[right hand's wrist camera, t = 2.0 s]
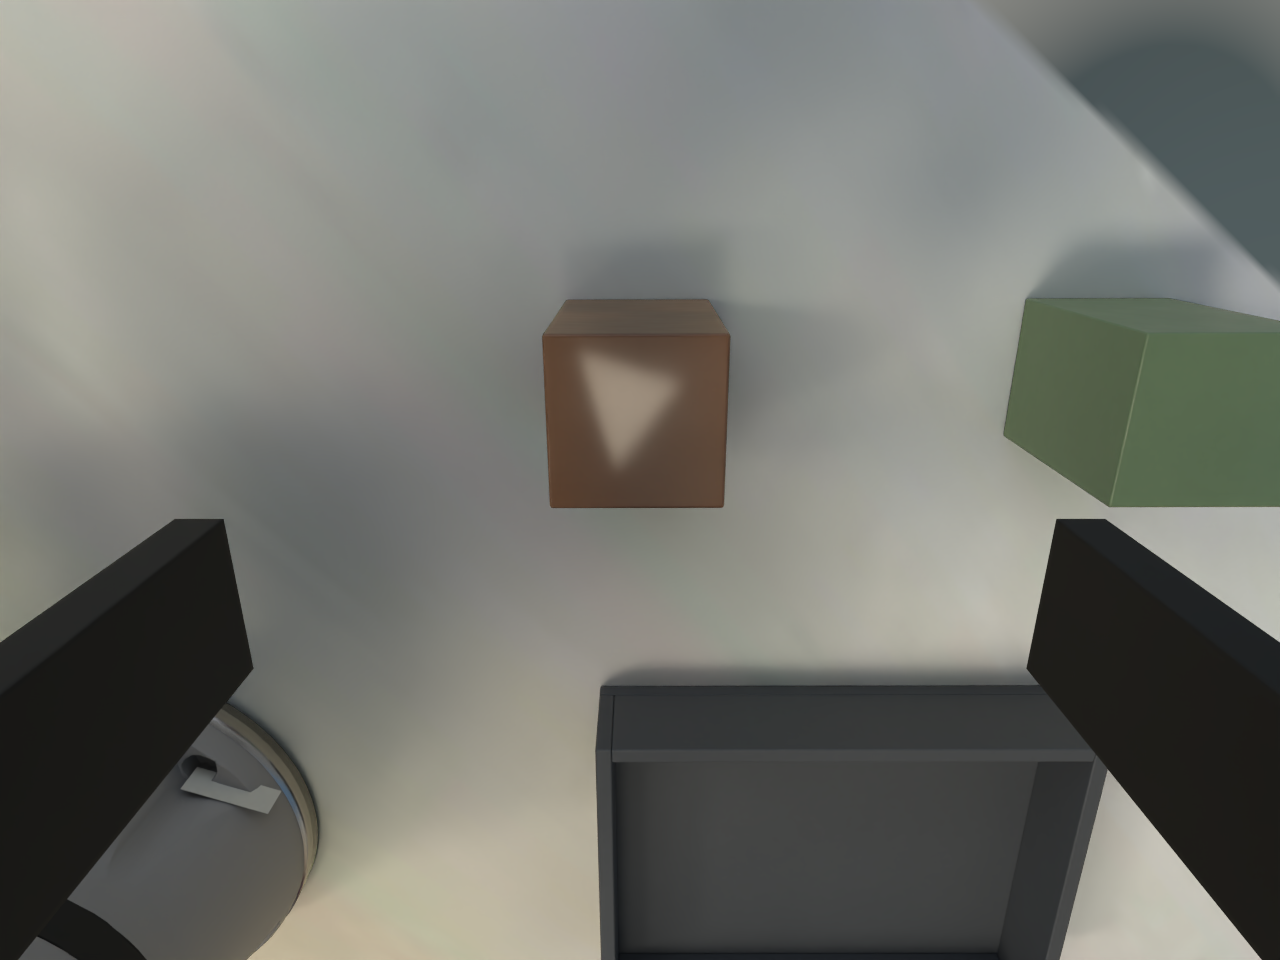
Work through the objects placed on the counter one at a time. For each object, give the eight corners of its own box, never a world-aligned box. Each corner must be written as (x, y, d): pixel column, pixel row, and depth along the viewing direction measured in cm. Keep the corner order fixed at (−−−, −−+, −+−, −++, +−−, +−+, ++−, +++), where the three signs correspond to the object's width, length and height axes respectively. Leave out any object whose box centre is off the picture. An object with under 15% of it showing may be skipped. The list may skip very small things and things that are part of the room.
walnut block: (570, 437, 29) (549, 508, 22) (565, 299, 27) (541, 334, 21) (705, 436, 29) (724, 508, 22) (708, 298, 27) (730, 333, 21)
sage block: (1002, 435, 29) (1108, 507, 22) (1025, 298, 27) (1147, 332, 21) (1137, 435, 29) (1283, 507, 22) (1169, 298, 27) (1336, 332, 21)
